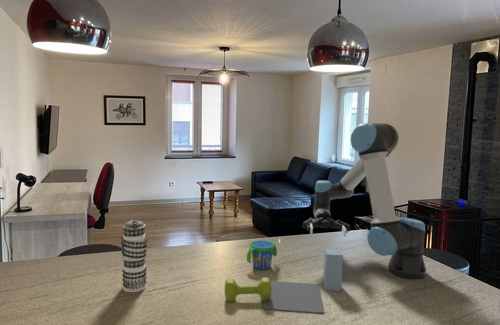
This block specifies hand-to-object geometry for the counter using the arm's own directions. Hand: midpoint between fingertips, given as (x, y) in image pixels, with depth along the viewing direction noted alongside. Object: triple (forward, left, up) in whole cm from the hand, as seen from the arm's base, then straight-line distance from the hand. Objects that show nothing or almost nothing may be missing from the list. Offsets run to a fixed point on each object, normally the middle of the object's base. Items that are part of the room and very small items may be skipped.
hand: (328, 232), depth 157 cm
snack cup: (+27, -4, -18) cm, 33 cm away
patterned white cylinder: (+73, +23, -18) cm, 79 cm away
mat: (+14, +22, -18) cm, 32 cm away
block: (-1, +12, -18) cm, 22 cm away
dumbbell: (+30, +27, -18) cm, 44 cm away
